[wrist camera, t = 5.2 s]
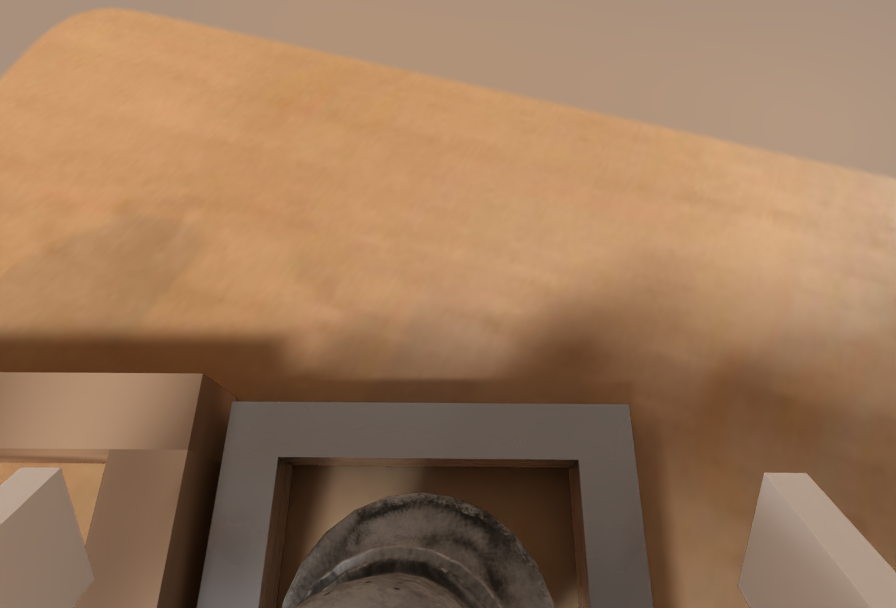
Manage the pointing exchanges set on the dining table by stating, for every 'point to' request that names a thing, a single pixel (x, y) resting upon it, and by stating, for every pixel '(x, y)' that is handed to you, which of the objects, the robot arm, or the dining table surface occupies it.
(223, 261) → the dining table surface
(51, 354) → the dining table surface
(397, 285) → the dining table surface
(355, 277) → the dining table surface
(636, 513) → the metal collar
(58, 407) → the walnut holder block
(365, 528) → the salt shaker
